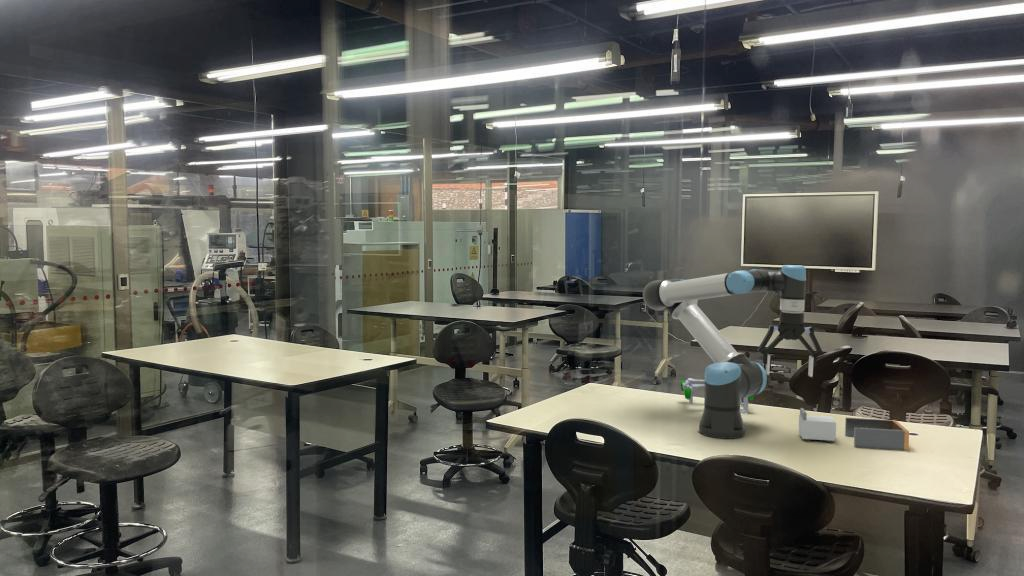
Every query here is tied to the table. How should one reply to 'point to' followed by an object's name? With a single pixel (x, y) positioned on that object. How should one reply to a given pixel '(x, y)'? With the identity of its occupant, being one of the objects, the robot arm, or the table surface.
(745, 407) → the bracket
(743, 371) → the robot arm
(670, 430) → the table surface
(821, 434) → the white chamfered box
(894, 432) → the bay
